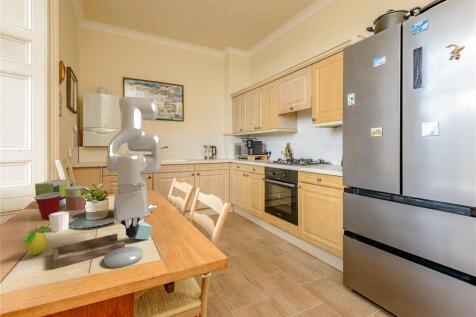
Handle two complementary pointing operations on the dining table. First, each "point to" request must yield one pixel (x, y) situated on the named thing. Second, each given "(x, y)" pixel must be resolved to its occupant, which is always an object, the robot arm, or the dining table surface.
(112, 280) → the dining table surface
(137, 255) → the grey round disc
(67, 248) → the frame
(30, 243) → the lemon
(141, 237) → the teal cube
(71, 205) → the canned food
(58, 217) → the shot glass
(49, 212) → the plastic cup
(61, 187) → the tea box
